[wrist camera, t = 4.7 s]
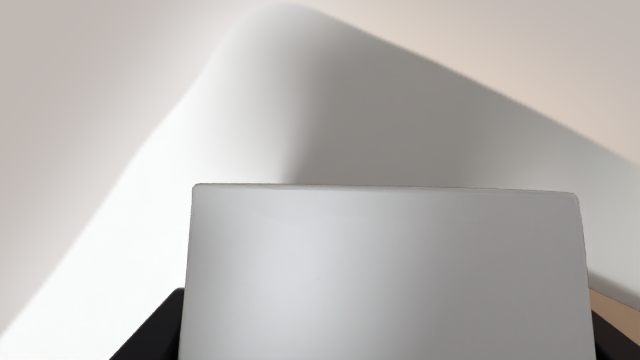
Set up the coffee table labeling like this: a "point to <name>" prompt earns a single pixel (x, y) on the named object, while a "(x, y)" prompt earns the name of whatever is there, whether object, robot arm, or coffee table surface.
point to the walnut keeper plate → (617, 314)
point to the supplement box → (384, 274)
